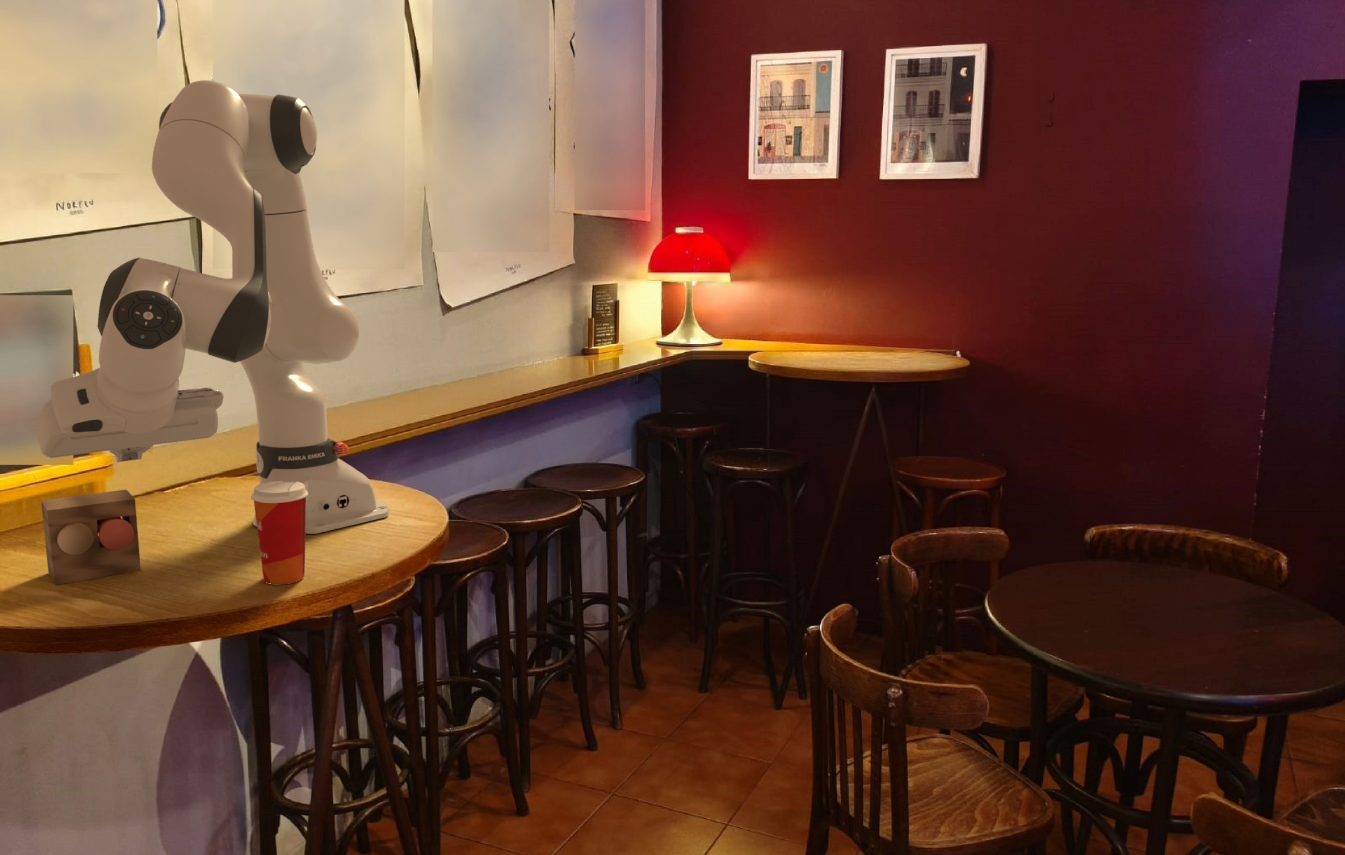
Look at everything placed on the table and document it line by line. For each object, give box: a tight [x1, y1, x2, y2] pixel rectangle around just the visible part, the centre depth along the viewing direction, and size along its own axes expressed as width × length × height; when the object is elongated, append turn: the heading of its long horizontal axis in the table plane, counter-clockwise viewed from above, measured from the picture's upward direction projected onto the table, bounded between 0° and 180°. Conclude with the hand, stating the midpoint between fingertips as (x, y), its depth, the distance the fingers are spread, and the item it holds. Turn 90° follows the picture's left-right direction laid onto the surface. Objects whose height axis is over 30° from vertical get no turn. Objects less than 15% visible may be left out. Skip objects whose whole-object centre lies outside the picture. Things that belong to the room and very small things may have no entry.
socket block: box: [40, 489, 142, 586], centre depth 146 cm, size 11×7×11 cm, turn 129°
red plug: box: [97, 517, 134, 550], centre depth 148 cm, size 4×11×4 cm, turn 39°
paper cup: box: [250, 481, 308, 586], centre depth 145 cm, size 8×8×14 cm
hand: (127, 456), depth 132 cm, fingers closed
